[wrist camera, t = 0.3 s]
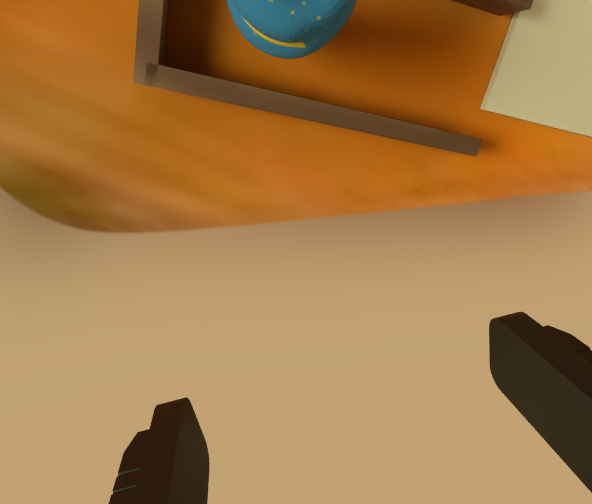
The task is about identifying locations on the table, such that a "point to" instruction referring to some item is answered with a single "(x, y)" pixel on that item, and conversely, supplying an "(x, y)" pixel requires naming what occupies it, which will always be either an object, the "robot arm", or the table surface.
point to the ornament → (290, 24)
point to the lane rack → (182, 81)
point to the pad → (546, 67)
